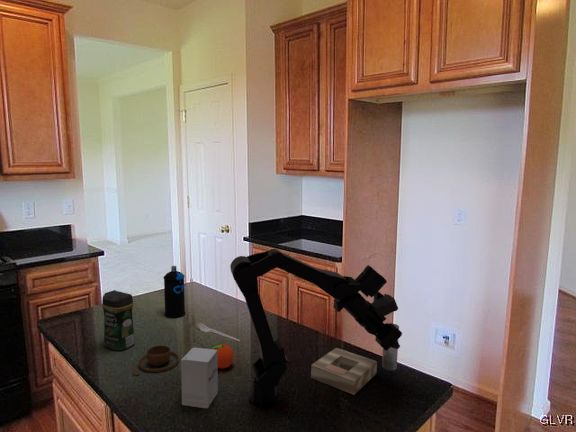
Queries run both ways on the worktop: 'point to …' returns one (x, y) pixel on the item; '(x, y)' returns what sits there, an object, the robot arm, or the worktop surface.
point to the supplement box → (199, 377)
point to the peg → (390, 357)
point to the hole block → (344, 370)
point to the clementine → (224, 355)
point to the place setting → (157, 359)
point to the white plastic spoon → (214, 331)
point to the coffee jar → (118, 320)
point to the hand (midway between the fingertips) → (395, 344)
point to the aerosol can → (174, 294)
